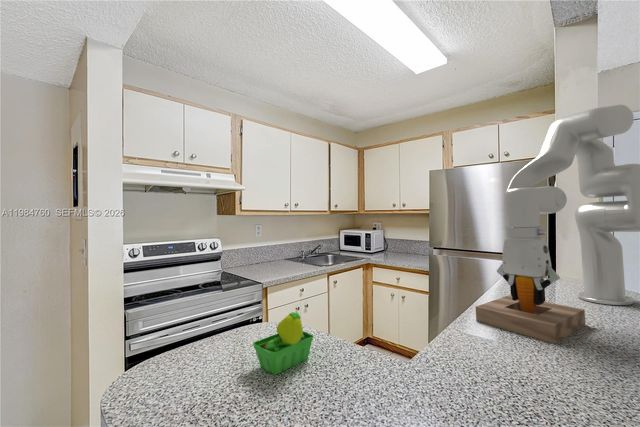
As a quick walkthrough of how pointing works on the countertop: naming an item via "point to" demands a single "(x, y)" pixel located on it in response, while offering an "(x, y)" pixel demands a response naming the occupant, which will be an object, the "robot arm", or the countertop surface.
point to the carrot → (526, 293)
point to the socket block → (532, 318)
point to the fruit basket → (284, 346)
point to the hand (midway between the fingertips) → (527, 301)
